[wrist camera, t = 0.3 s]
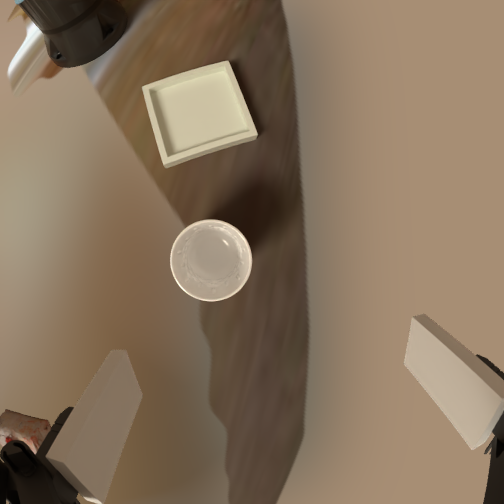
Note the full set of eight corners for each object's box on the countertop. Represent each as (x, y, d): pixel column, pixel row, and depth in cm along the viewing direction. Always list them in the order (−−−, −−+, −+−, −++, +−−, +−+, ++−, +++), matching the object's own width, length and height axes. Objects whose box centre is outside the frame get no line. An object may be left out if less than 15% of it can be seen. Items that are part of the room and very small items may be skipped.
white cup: (225, 212, 37) (227, 204, 27) (253, 265, 38) (266, 277, 28) (172, 241, 36) (155, 244, 26) (201, 293, 37) (195, 315, 27)
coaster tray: (144, 92, 34) (141, 86, 32) (227, 67, 35) (228, 60, 33) (166, 168, 35) (163, 165, 33) (255, 139, 37) (257, 134, 35)
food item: (50, 416, 35) (28, 444, 26) (65, 446, 36) (47, 476, 26) (5, 404, 34) (-18, 426, 24) (20, 433, 34) (0, 457, 25)
